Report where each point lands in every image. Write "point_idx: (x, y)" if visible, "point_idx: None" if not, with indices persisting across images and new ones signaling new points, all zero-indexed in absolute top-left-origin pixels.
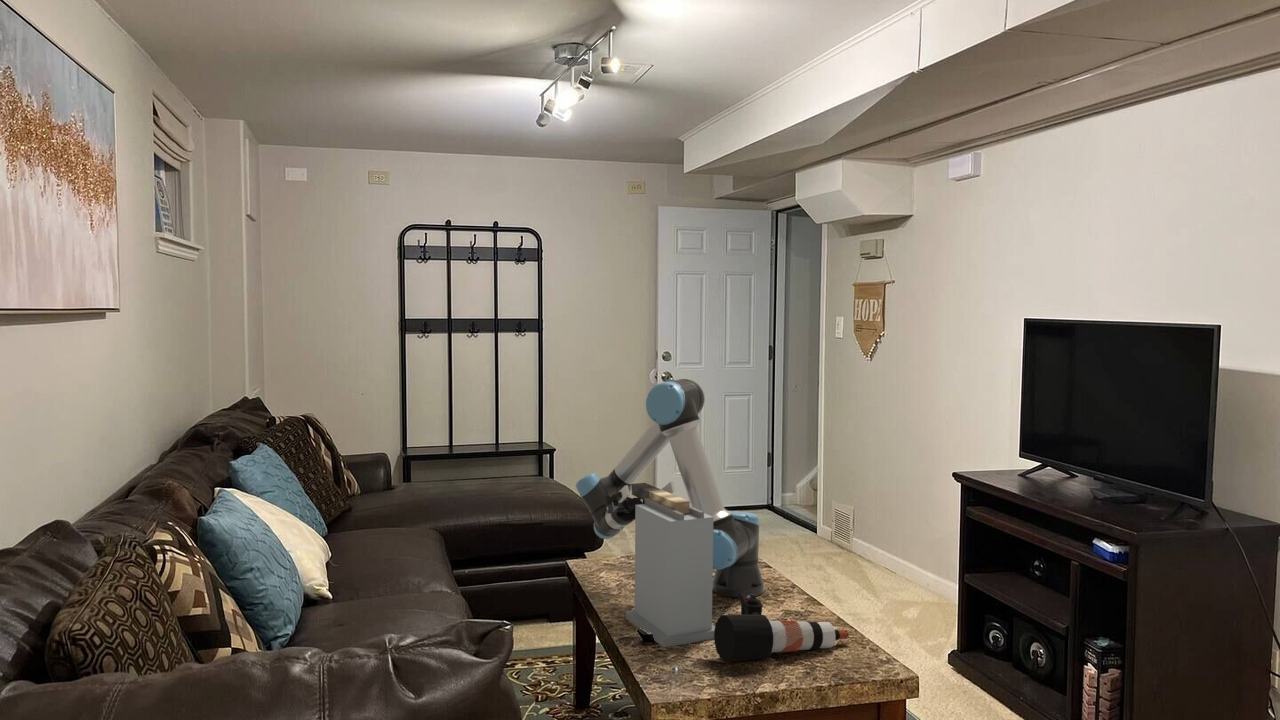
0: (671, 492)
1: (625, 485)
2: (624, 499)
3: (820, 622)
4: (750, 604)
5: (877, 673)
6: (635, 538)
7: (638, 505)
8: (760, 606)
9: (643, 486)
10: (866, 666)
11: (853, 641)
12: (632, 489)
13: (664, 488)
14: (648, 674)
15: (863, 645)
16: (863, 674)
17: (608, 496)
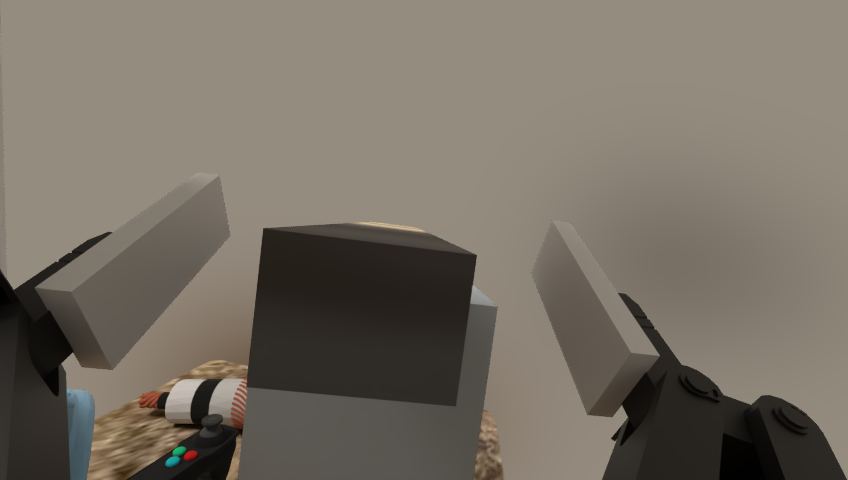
0: (209, 253)
1: (568, 222)
2: (559, 340)
3: (193, 383)
4: (228, 433)
5: (231, 369)
6: (473, 469)
7: (485, 301)
8: (220, 424)
9: (403, 235)
10: (219, 378)
11: (123, 414)
12: (462, 323)
13: (140, 252)
14: (487, 457)
15: (134, 403)
16: (246, 373)
17: (757, 403)
